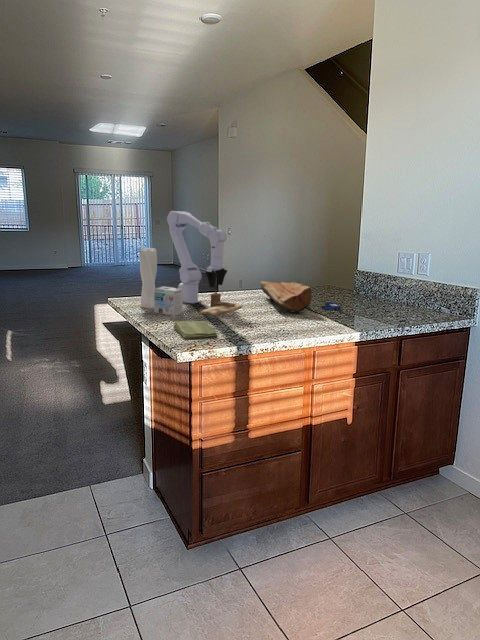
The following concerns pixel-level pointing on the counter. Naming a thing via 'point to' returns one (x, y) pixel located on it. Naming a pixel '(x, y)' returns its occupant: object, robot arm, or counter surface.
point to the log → (288, 295)
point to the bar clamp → (333, 307)
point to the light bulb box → (168, 301)
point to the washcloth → (194, 329)
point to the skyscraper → (148, 276)
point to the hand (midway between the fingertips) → (216, 285)
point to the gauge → (216, 300)
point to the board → (220, 309)
